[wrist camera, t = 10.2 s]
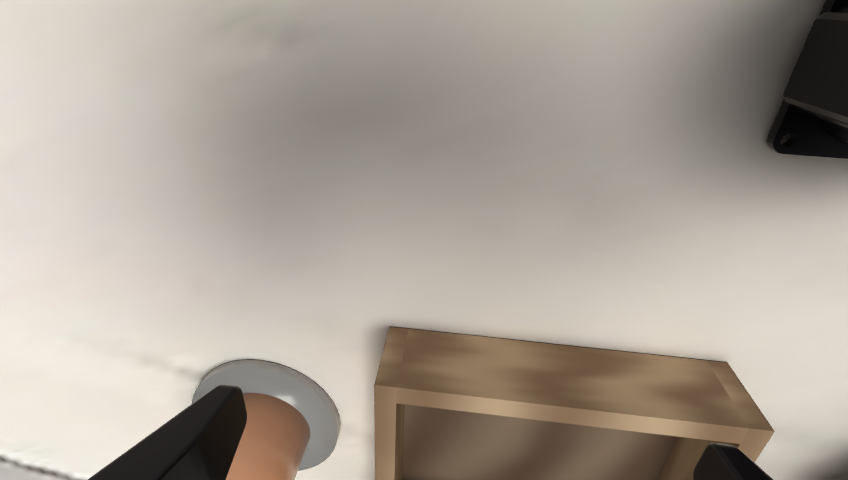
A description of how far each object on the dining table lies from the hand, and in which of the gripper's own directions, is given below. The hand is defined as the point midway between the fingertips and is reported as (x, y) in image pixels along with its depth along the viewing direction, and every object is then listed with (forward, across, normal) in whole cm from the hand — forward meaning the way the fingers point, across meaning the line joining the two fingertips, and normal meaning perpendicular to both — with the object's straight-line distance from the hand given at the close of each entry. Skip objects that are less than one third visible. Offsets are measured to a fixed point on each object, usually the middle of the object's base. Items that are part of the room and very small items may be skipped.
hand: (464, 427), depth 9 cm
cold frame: (+12, -5, +19) cm, 23 cm away
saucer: (+12, +11, +16) cm, 23 cm away
